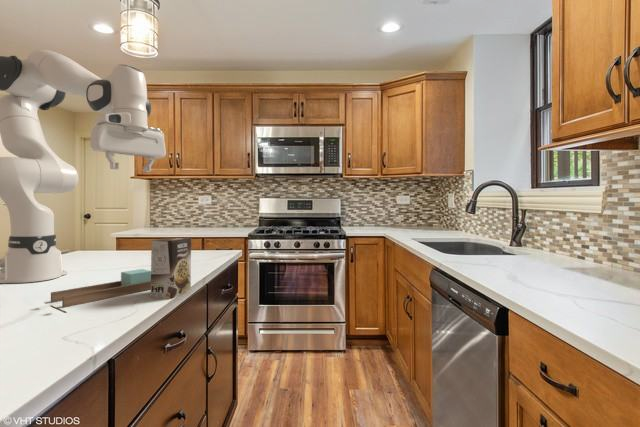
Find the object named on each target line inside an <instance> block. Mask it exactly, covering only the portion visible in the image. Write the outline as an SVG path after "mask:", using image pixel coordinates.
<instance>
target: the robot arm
mask: <svg viewBox="0 0 640 427" xmlns="http://www.w3.org/2000/svg"><path fill="white" fill-rule="evenodd" d="M2 91H3V92H6V93H8V94H7V95H6V94H5V95H4V96H1V97H0V138H1V142H2V146H3V147H4V148H5V149H6V150H7V152H9V153H10V154H12V155H14V156H15V157H14V156H0V199H1V201H3V203H4V204H5V206H6V208H7V211H8V215H9V220H10V235H9V237H8V241H7V243H8V245H7V247H8V248H7V251H6V252H5V253H4V255H3V257H2V258H0V284H11V283H12V284H15V283H17V284H18V283H19V284H20V283H32V282H33V283H34V282H41V281H47V280H48V281H49V280H53V279H56V278H59V277H61V276H65V275H68V271H67V270H63V262H62V259H63V258H62V251H61V250H60V249H58V248H57V247H56V245H57V235H56V234H55V213H54V212H53V210H52V209H51V208H50V207H48V206H47V205H44V204H42V203H39V202H38V201H37V200H36V198H35V196H34V195H35V194H36V193H37V194H61V193H62V194H63V193H64V194H65V193H68V192H72V191H74V190H75V188H77V186H78V184H79V181H80V179H79V173H78V171H77V169H76V168H75V167H74V165H72V164H70V163H68V162H66V161H64V160H63V159H61V158H60V156H58V155H57V154H56V153H55V152H54V151H53V150H52V148H51V147H50V146H49V144H48V143H47V140H46V138H45V135H44V132H43V129H42V125H41V122H40V118H39V115H38V111H39V109H40V110H41V111H48V110H49V109H51V108H54V107H56V106H59V105H60V104H61V103H62V102H64V101H65V100H64V99H65V98H66V95H67V94H70V95H71V94H72V95H75V96H81V97H85V98H86V102H87V104H88V106H89V107H90V108H91V110H93V111H94V112H96V113H99V114H101V115H97V116H95V117H94V118H93V123H94V126H93V127H92V128H91V132H90V144H89V145H90V148H91V149H92V150H93V151H94V152H102V153H105V155H104V156H105V158H106V159H107V161H108V163H109V168H110V170H119V162H116V160H115V158H114V157H115V154H117V155H125V156H134V157H142V158H146V162H147V163H146V165H143V167H142V172H144V173H151V172H152V166H153V165H154V163H155V159H164V158H165V157H166V156H167V149H166V142H165V133H164V132H163V131H162V130H161V129H160V128H159V127H152V126H148V118H149V117H150V115H151V113H152V104H151V101H150V99H149V97H148V88H147V80H146V76H145V74H144V72H143V71H142V70H140V69H138V68H136V67H134V66H130V65H127V64H116V65H114V66H113V68H112V71H111V72H110V73H109V74H108V75H106V76H105V77H103V78H101V77H100V76H98V75H96V74H95V73H93V72H91V71H89V70H88V69H87V68H85V67H84V66H82V65H80V63H78V62H77V61H75V60H73V59H71V58H69V57H68V56H66V55H64V54H62V53H58V52H57V51H53V50H49V49H41V48H40V49H38V48H37V49H34V50H32V51H31V52H30V53H29V54H28V56H27V58H26V59H25V60H24V59H19V57H17V56H16V55H10V56H5V55H0V92H2Z"/></svg>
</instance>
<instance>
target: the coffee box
mask: <svg viewBox="0 0 640 427" xmlns="http://www.w3.org/2000/svg"><path fill="white" fill-rule="evenodd" d="M150 250H151V252H150V253H151V255H150V256H151V260H150V261H151V262H150V271H151V290H150V298H154V299H165V300H167V299H168V300H172V299H175V298H177V297H180V296H182V295H184V294H187V293H189V292H191V291H192V290H191V289H192V288H191V285H192V283H191V281H192V265H191V264H192V238H191V237H167V238H160V239H154V240H153V239H151V249H150Z"/></svg>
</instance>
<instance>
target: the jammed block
mask: <svg viewBox="0 0 640 427" xmlns="http://www.w3.org/2000/svg"><path fill="white" fill-rule="evenodd" d="M120 281H121V286H125V285H131V284H136V283H142V282H148V281H151V270H149V269H148V270H147V269H145V268H140V269H135V270H134V269H133V270H127V271H126V270H125V271H121V272H120Z"/></svg>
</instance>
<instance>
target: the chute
mask: <svg viewBox="0 0 640 427" xmlns="http://www.w3.org/2000/svg"><path fill="white" fill-rule="evenodd" d="M148 291H151V281H148V282H142V283H136V284H131V285H125V286H121V280H116V281H113V282H112V281H111V282H106V283H105V282H104V283H100V284H94V285H87V286H82V287H77V288H75V287H74V288H69V289H64V290H57V291H52V292H50V303H52V304H54V303H58V302H62V304H61V305H62V306H61V307H62V308H69V307H73V306H74V307H75V306H80V305H85V304H88V303H93V302H99V301H104V300H108V299H109V300H110V299H113V298H119V297H123V296H128V295H129V296H130V295H133V294H138V293H143V292H148ZM50 307H51V308H53V309H55V310H57V311H60V312H62V313H65V314H66V313H67V311H66V310H62V309H61V308H59V307H56V306H54V305H51V304H50Z"/></svg>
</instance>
